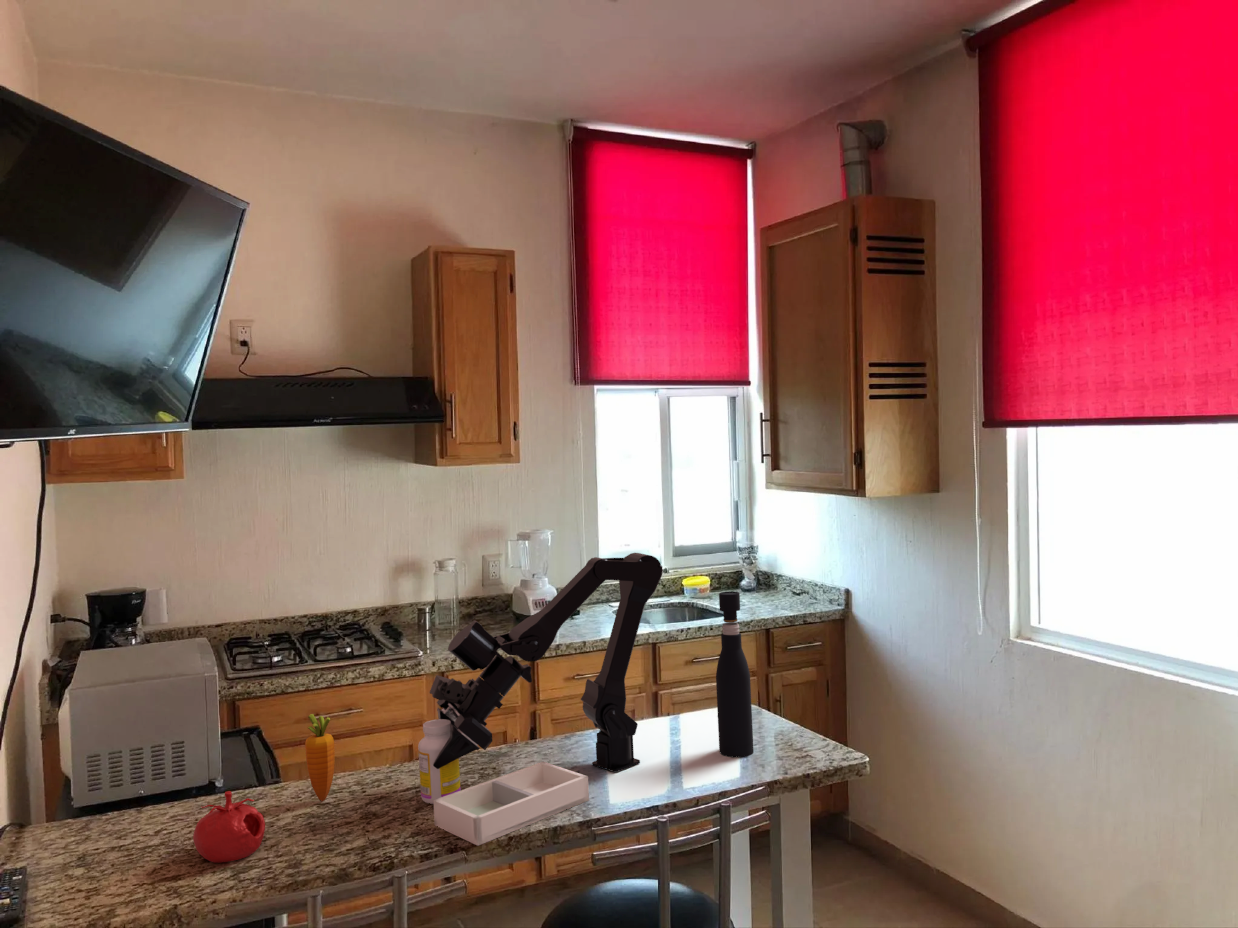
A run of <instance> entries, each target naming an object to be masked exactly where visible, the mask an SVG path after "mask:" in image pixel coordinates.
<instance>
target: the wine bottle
mask: <svg viewBox="0 0 1238 928" xmlns="http://www.w3.org/2000/svg"><path fill="white" fill-rule="evenodd" d="M740 598H741V596H740V592H738V591H721V592H719V593H718V603H719V605H718V606H719V611H720V612H723V613H722V615H723V619H722V620H723V622H724V623H722V626H721V628H722V630H721V632H722V633H721V634H720V639H721V650H720V653H719V657H718V660H717V666H716V671H715V672H716V674H715V684H716V686H715V687H716V705H717V706H716V707H717V710H716V711H717V727H718V729H717V730H718V749H719V750H718V751H719V753H720V754H721V755H722V756H725V757H728V758H729V757H730V758H743V757H744V758H745V757H749V756H751V755H752V754H753V753H754V734H753V733H754V732H753V731H754V730H753V714H752V713H753V712H752V711H753V710H752V709H753V707H752V689H751V674H750V669H749V664H748V661H747V659H746V658H747V657H746V656H745V653H744V649H743V647H742V645H743V644H742V633H740V631H741V630H740V628H741V627H740V625H739V623H738V612H739V611H741V599H740Z"/></svg>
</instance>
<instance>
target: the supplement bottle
mask: <svg viewBox="0 0 1238 928" xmlns="http://www.w3.org/2000/svg"><path fill="white" fill-rule="evenodd" d="M450 723H451V721H450V720H446V719H439V718H437V719H432V720H427V721H426V722H424V723H422V732H423V734H424V737H422V739H420V741H419V742H418V744H417V745H418V747H417V748H418V750H417V751H418V765H419V766H418V767H419V782H420V783H419V785H420V786H419V788H420V797H421V799H422V801H423V802H425V803H426V804H429V803H430V804H431V805H434V802H433V800H435V799H438V798H441V797H444V796H447V795H449V794H452V793H455V792H458V791H461V789H462V788H461V772H460V759H459V758H458V759H456V760H454V761H452V762H450V763H449V764H447V765H445V766H443V767H441V768H439V769H436V768H435V767H434V766H433V764H434V762H435V760H436V758H437V757H438V755H439V753H440V752H441V750H442V749H443V747H444V745H445V744H446V742H447V741H448V739H449V737H450Z"/></svg>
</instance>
